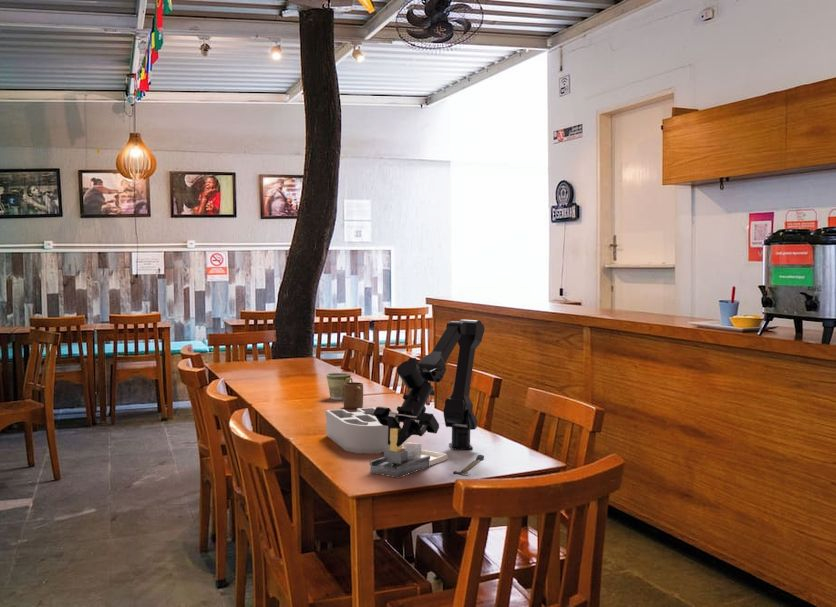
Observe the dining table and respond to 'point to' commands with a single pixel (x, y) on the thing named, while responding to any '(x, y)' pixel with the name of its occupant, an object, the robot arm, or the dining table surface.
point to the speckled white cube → (415, 450)
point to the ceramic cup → (337, 384)
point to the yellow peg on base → (395, 449)
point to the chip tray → (434, 456)
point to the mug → (353, 395)
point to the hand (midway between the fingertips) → (393, 445)
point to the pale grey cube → (410, 452)
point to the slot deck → (398, 466)
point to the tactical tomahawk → (469, 466)
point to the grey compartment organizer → (357, 430)
